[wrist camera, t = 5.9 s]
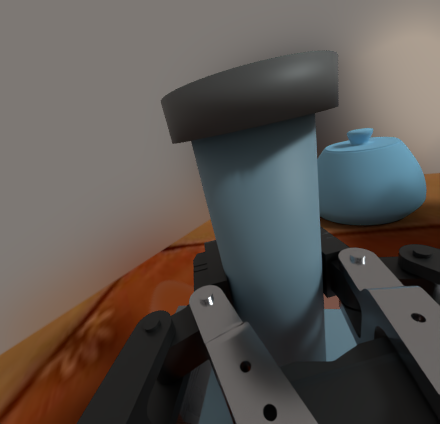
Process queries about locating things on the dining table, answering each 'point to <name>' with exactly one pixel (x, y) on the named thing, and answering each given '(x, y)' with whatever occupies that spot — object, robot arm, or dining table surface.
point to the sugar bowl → (369, 180)
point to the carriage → (265, 200)
